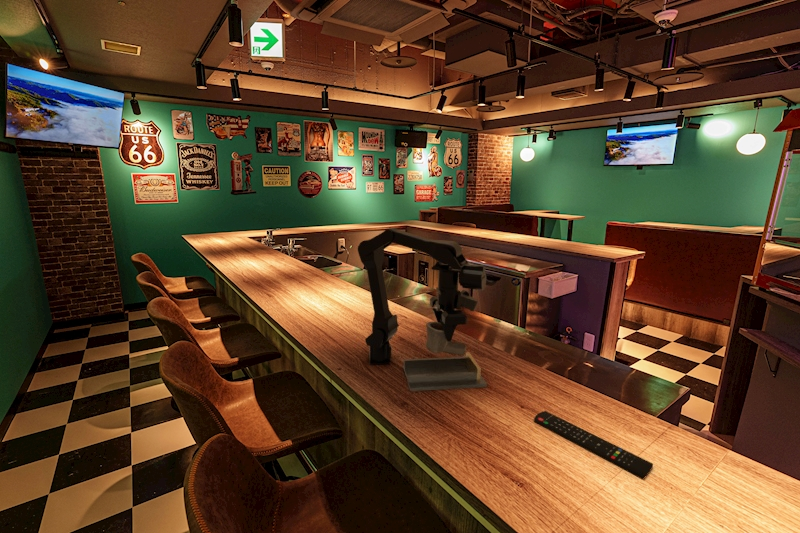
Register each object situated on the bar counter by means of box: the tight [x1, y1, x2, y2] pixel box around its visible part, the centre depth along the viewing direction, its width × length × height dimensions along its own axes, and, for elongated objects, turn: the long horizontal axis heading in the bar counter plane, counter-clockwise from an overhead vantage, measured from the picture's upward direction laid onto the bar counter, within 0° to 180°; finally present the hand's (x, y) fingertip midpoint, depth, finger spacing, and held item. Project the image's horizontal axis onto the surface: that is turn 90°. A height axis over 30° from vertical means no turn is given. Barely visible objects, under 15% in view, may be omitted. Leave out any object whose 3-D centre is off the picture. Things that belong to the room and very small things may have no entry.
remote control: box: [533, 410, 654, 479], centre depth 83 cm, size 5×24×1 cm, turn 40°
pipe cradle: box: [402, 351, 488, 392], centre depth 111 cm, size 22×14×5 cm, turn 97°
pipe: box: [425, 321, 467, 357], centre depth 110 cm, size 6×13×8 cm, turn 82°
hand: (446, 337), depth 110 cm, fingers closed on pipe, 5 cm apart
